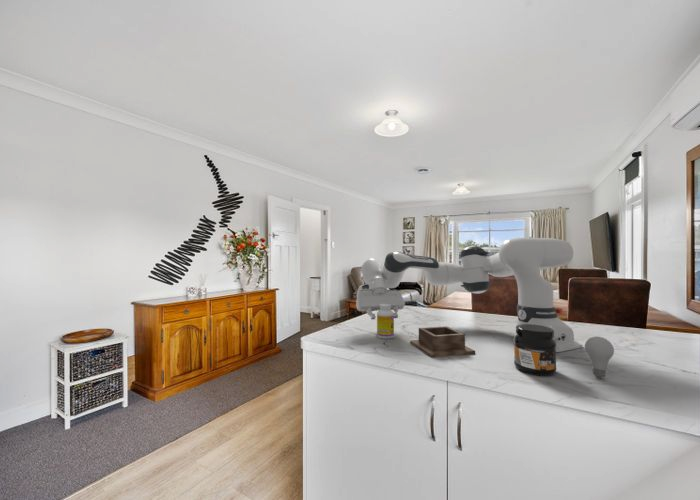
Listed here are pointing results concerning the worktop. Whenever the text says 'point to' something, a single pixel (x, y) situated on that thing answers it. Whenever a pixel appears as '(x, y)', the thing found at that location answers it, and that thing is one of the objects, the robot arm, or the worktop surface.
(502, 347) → the worktop surface
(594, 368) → the lightbulb
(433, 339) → the bottle caddy
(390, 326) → the supplement bottle
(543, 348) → the supplement container
